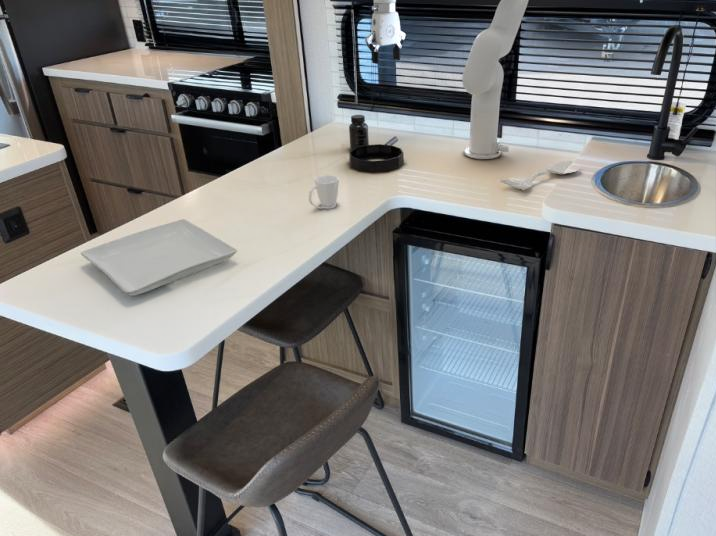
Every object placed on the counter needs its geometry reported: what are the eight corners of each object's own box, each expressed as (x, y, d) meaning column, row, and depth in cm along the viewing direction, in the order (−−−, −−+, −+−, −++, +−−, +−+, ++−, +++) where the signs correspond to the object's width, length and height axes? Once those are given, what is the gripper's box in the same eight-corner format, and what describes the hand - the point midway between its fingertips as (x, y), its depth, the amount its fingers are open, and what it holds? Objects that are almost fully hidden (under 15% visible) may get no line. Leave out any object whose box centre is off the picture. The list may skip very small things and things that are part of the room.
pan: (418, 150, 218) (418, 138, 216) (391, 175, 196) (391, 162, 194) (373, 145, 223) (372, 134, 221) (341, 169, 201) (340, 157, 199)
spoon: (498, 189, 184) (499, 178, 182) (563, 165, 201) (564, 155, 199) (521, 197, 178) (522, 186, 176) (586, 172, 195) (587, 162, 193)
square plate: (82, 265, 146) (78, 250, 144) (187, 230, 162) (184, 216, 160) (130, 306, 129) (125, 290, 127) (241, 262, 145) (238, 248, 143)
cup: (345, 205, 175) (343, 179, 170) (318, 215, 169) (315, 188, 164) (330, 199, 179) (328, 173, 175) (303, 209, 173) (300, 182, 169)
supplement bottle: (348, 147, 222) (346, 114, 215) (366, 145, 223) (364, 112, 217) (352, 153, 216) (350, 119, 210) (371, 151, 218) (369, 117, 212)
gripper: (371, 11, 198) (373, 66, 207) (411, 7, 208) (411, 59, 216) (357, 9, 203) (360, 63, 212) (397, 5, 212) (398, 57, 221)
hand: (386, 61), depth 214 cm, fingers open, 9 cm apart
